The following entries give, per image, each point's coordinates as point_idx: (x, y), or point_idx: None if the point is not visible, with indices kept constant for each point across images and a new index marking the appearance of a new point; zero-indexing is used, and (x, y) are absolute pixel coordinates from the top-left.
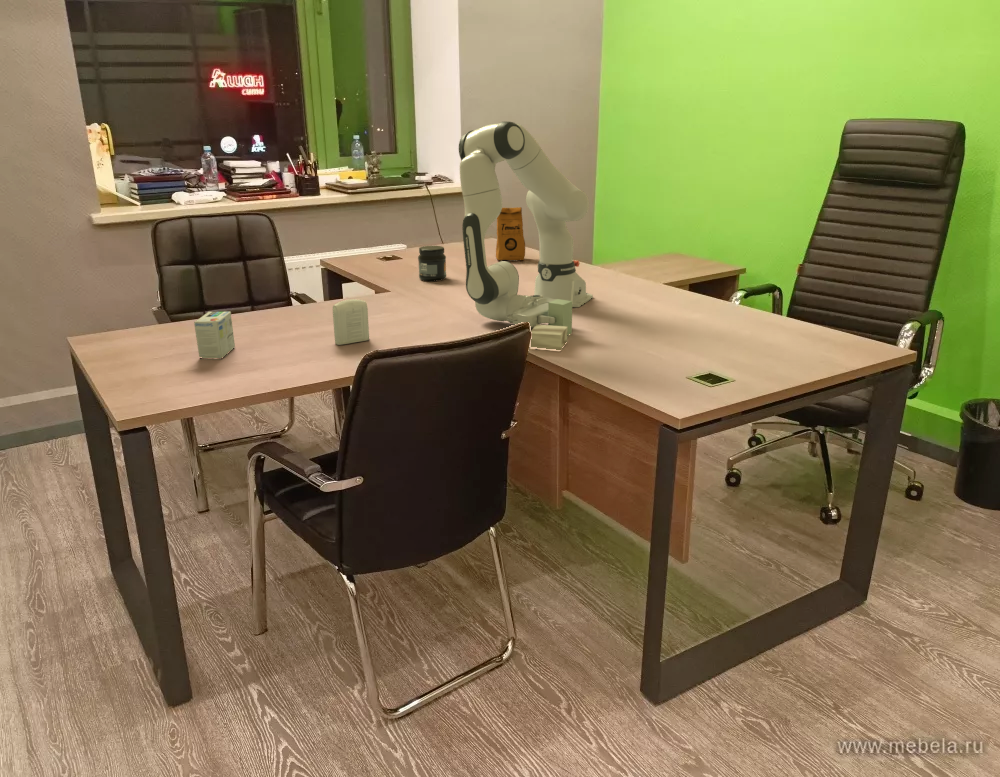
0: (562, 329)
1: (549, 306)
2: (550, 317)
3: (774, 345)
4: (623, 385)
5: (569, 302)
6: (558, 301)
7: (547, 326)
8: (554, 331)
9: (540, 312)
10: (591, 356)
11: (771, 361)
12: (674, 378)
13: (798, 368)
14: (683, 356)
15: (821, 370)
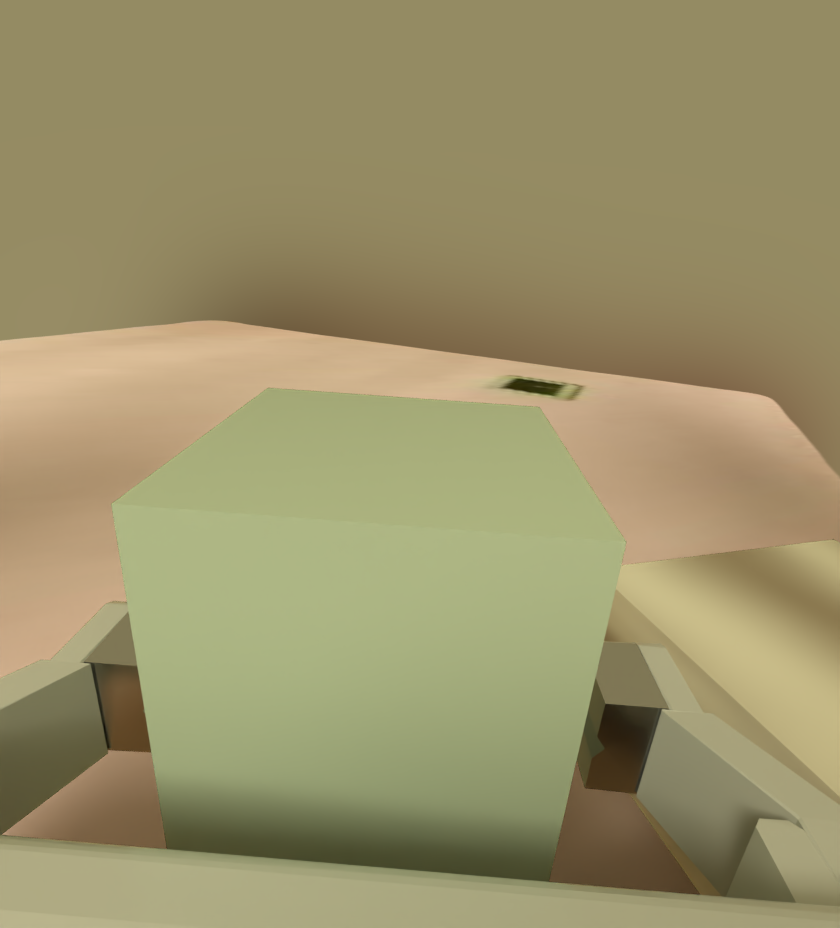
0: (709, 571)
1: (597, 614)
2: (683, 683)
3: (220, 357)
4: (766, 443)
5: (352, 394)
6: (373, 459)
7: (821, 717)
8: (834, 595)
9: (837, 911)
10: (656, 533)
11: (348, 360)
12: (597, 407)
13: (370, 351)
14: None
15: (363, 344)
